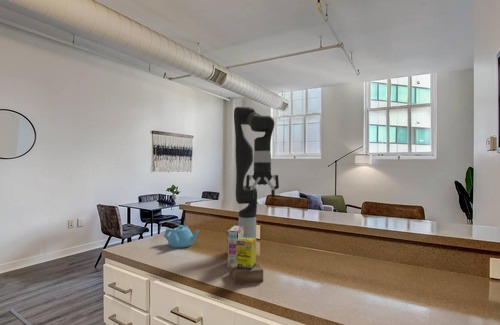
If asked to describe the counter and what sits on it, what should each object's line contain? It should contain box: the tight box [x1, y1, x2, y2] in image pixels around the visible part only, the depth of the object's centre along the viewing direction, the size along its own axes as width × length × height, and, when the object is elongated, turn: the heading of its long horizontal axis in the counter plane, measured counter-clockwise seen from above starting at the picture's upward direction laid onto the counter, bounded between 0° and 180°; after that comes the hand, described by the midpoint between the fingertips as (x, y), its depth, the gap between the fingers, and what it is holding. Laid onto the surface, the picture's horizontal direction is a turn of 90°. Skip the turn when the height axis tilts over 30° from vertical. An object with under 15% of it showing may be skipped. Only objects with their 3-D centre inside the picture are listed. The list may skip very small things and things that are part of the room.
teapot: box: [163, 224, 200, 249], centre depth 162 cm, size 15×15×11 cm
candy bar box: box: [226, 225, 244, 269], centre depth 131 cm, size 11×5×16 cm, turn 168°
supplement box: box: [237, 237, 257, 270], centre depth 116 cm, size 6×6×11 cm
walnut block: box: [228, 261, 264, 286], centre depth 116 cm, size 11×11×5 cm
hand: (262, 198), depth 127 cm, fingers open, 8 cm apart
